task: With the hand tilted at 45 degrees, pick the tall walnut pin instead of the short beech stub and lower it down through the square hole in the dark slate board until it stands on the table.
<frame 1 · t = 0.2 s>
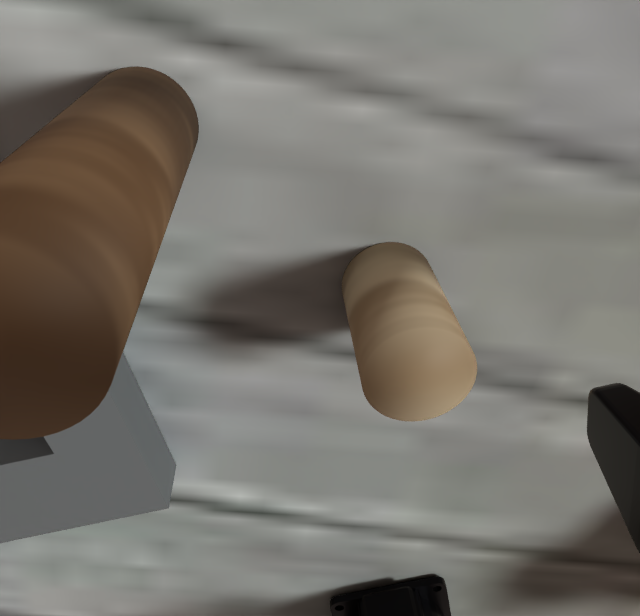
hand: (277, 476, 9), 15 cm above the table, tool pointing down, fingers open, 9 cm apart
walnut pin: (143, 124, 20), on the table
short beech pin: (387, 283, 24), on the table
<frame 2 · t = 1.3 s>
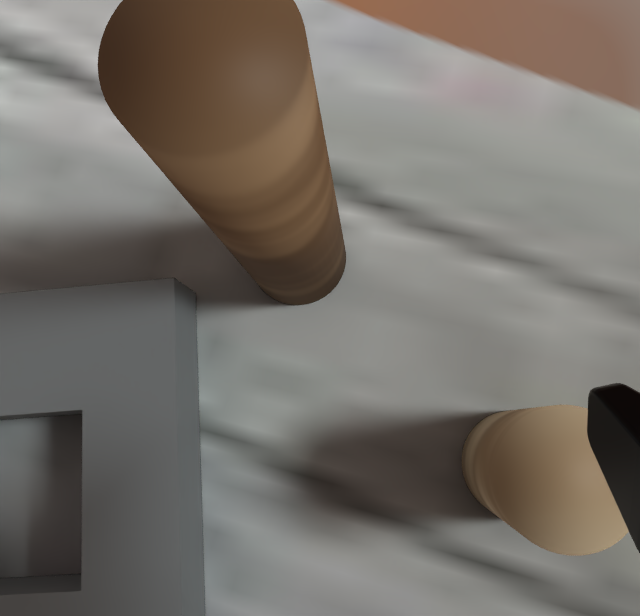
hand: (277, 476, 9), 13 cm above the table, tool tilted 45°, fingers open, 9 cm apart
walnut pin: (298, 258, 23), on the table
short beech pin: (514, 463, 21), on the table
slate hole plate: (40, 494, 22), on the table
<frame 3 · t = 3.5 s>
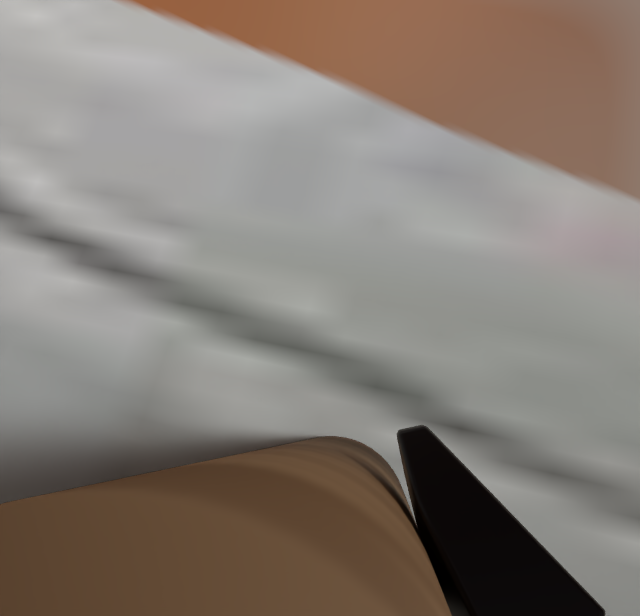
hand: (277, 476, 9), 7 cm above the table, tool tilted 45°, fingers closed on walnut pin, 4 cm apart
walnut pin: (331, 511, 15), on the table, touching gripper
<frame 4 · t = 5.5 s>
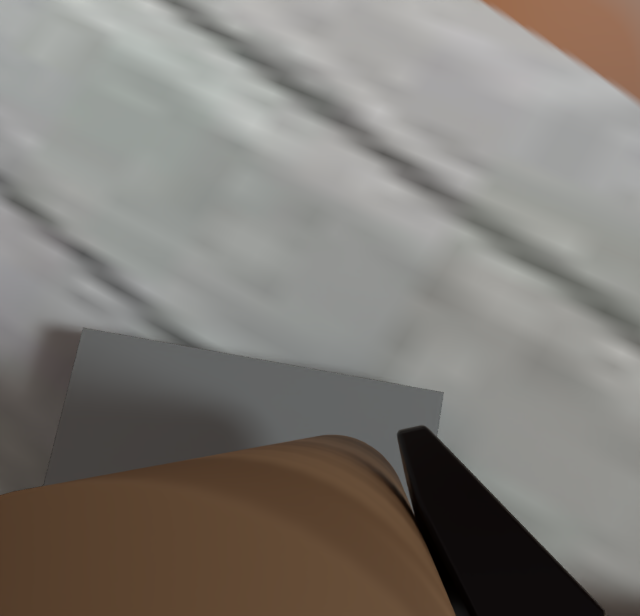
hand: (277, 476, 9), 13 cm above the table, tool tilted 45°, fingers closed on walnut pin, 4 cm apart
walnut pin: (332, 509, 15), point 6 cm above the table, touching gripper
slate hole plate: (230, 566, 21), on the table
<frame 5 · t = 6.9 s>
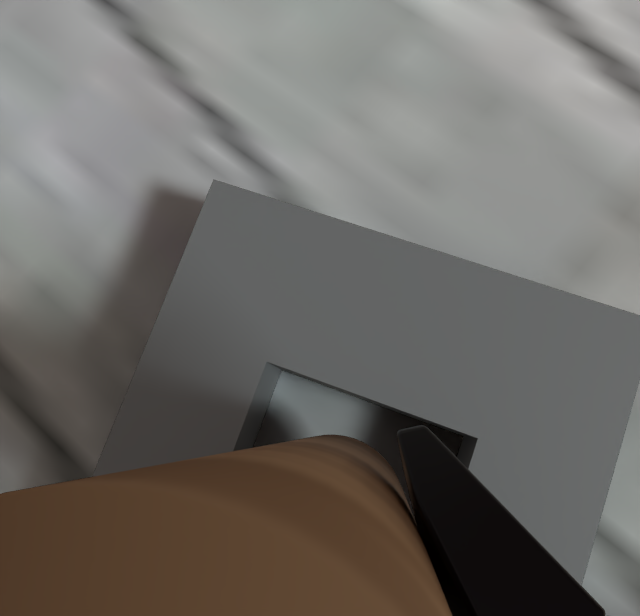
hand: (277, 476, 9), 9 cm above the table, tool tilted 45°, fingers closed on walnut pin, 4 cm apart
walnut pin: (331, 510, 15), point 3 cm above the table, touching gripper
slate hole plate: (338, 495, 17), on the table
when the fingers open (7 cm above the table, at t = 7.6 s): walnut pin stays where it is, resting in slate hole plate.
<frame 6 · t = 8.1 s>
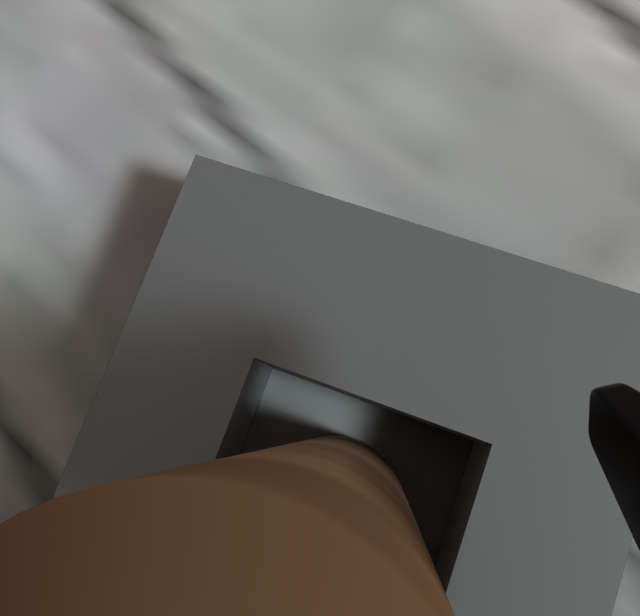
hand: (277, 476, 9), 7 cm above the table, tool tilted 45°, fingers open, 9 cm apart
walnut pin: (334, 507, 16), resting in slate hole plate
slate hole plate: (334, 507, 16), on the table
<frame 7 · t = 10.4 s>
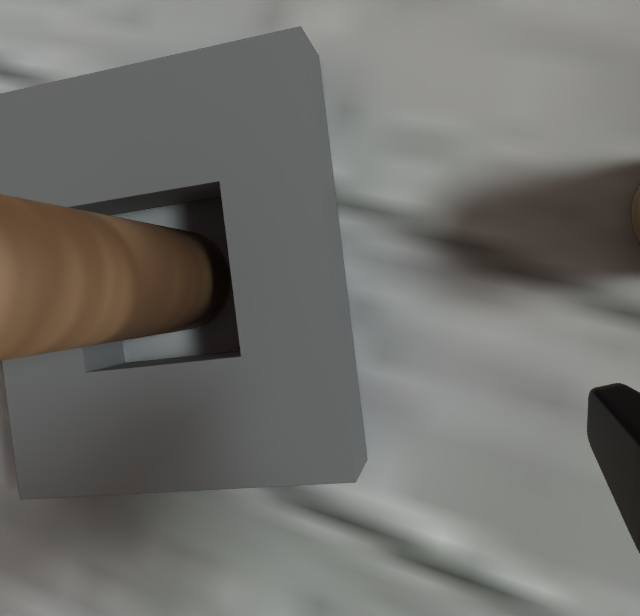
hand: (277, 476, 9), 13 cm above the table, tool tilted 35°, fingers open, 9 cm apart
walnut pin: (183, 280, 22), resting in slate hole plate
slate hole plate: (183, 280, 22), on the table
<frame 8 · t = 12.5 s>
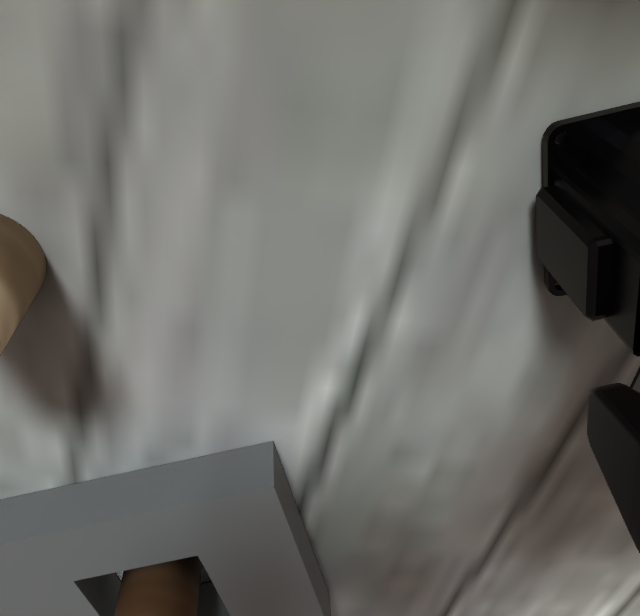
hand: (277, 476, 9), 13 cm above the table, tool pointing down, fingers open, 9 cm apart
walnut pin: (165, 555, 30), resting in slate hole plate
slate hole plate: (165, 555, 30), on the table
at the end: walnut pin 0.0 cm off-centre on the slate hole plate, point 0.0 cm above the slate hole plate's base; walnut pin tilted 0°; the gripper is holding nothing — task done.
